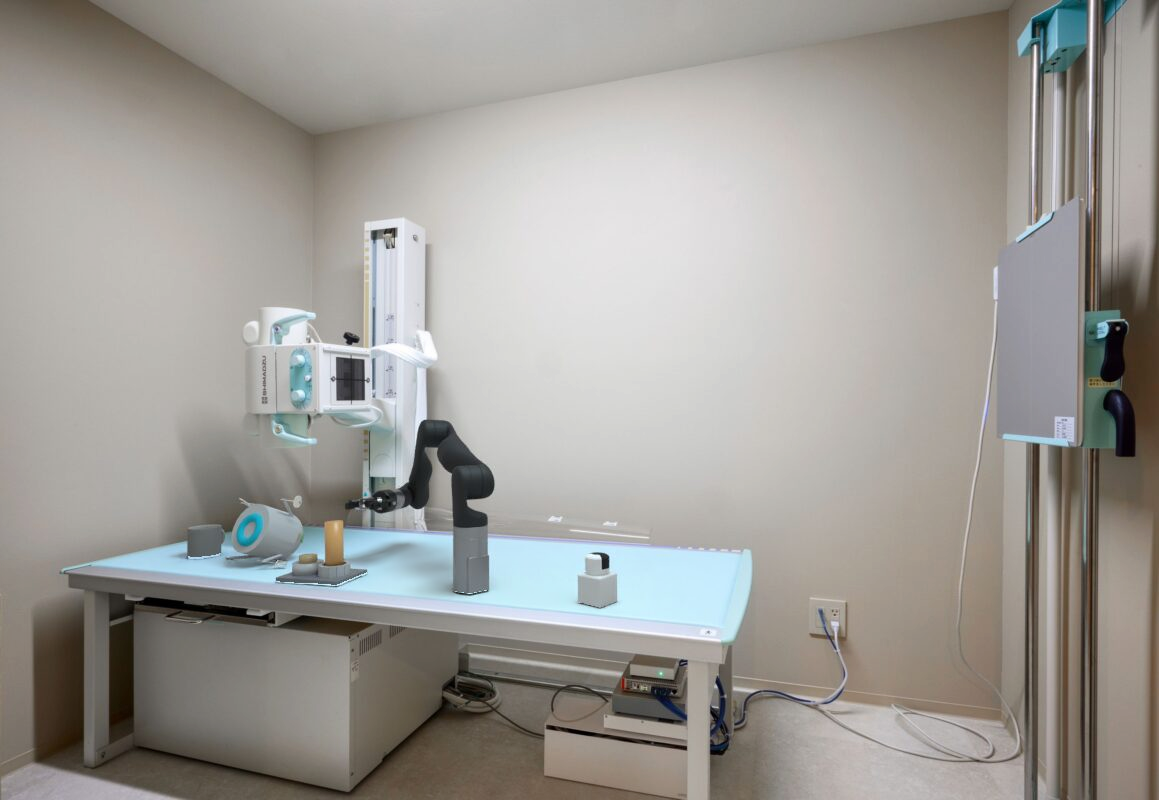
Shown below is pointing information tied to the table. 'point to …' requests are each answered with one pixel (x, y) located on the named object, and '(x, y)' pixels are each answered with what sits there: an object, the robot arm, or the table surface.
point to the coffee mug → (204, 540)
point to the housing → (319, 571)
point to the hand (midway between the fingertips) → (358, 506)
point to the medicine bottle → (597, 581)
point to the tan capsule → (334, 543)
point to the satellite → (267, 532)
